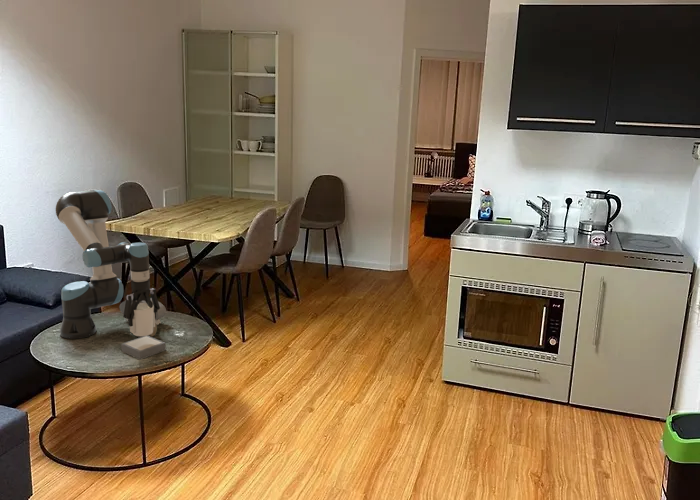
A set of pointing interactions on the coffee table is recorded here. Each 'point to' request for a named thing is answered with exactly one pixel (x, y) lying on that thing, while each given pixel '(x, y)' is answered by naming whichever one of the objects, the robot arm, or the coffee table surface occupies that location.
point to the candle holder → (143, 319)
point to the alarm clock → (159, 314)
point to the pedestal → (143, 347)
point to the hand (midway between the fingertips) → (142, 329)
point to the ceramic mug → (153, 331)
